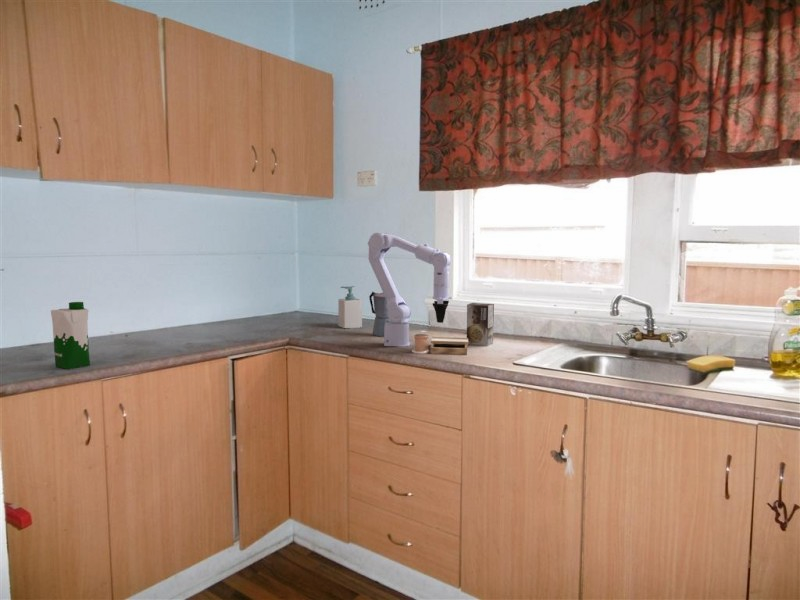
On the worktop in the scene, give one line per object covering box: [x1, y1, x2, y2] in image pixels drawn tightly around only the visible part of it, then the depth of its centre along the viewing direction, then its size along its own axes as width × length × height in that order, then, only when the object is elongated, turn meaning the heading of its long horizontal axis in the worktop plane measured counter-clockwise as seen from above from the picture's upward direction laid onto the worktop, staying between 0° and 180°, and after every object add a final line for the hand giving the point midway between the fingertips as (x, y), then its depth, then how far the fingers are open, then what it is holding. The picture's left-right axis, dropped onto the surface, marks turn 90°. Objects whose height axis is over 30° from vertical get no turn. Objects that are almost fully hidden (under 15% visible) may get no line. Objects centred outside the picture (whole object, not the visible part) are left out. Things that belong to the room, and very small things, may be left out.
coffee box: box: [466, 302, 495, 347], centre depth 213 cm, size 9×6×16 cm
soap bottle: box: [337, 285, 363, 329], centre depth 253 cm, size 9×9×19 cm
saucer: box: [411, 348, 430, 354], centre depth 198 cm, size 6×6×1 cm
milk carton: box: [50, 301, 91, 370], centre depth 171 cm, size 9×9×20 cm
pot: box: [413, 333, 429, 352], centre depth 197 cm, size 5×5×6 cm
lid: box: [430, 336, 469, 345], centre depth 205 cm, size 14×9×1 cm, turn 83°
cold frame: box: [429, 343, 468, 356], centre depth 201 cm, size 13×16×2 cm
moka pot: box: [368, 291, 390, 338], centre depth 232 cm, size 10×15×20 cm, turn 53°
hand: (440, 321), depth 205 cm, fingers open, 7 cm apart
